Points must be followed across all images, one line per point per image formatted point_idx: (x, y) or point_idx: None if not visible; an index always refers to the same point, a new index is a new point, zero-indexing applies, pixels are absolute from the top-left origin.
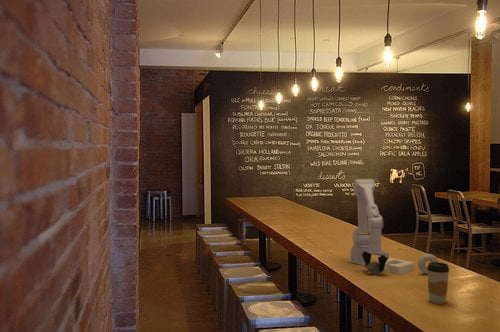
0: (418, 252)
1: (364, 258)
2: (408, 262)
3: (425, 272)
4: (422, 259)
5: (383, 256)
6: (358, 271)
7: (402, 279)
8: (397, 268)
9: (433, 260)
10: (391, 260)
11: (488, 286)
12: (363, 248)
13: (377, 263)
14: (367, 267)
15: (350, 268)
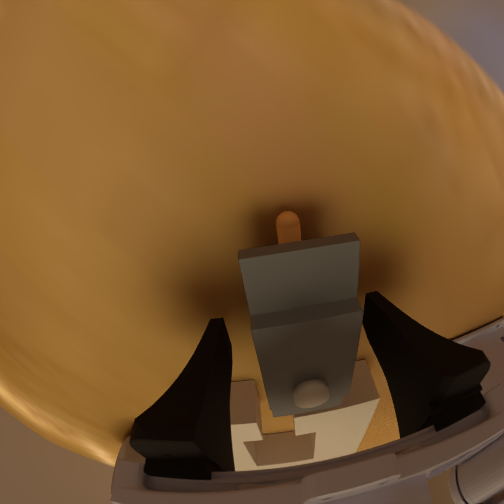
0: None
1: (437, 345)
2: (236, 469)
3: (128, 437)
4: None
5: (163, 470)
6: (415, 228)
7: (74, 331)
8: None
9: (112, 486)
10: (318, 452)
11: (12, 412)
12: (499, 434)
13: (284, 383)
14: (306, 240)
15: (481, 240)
